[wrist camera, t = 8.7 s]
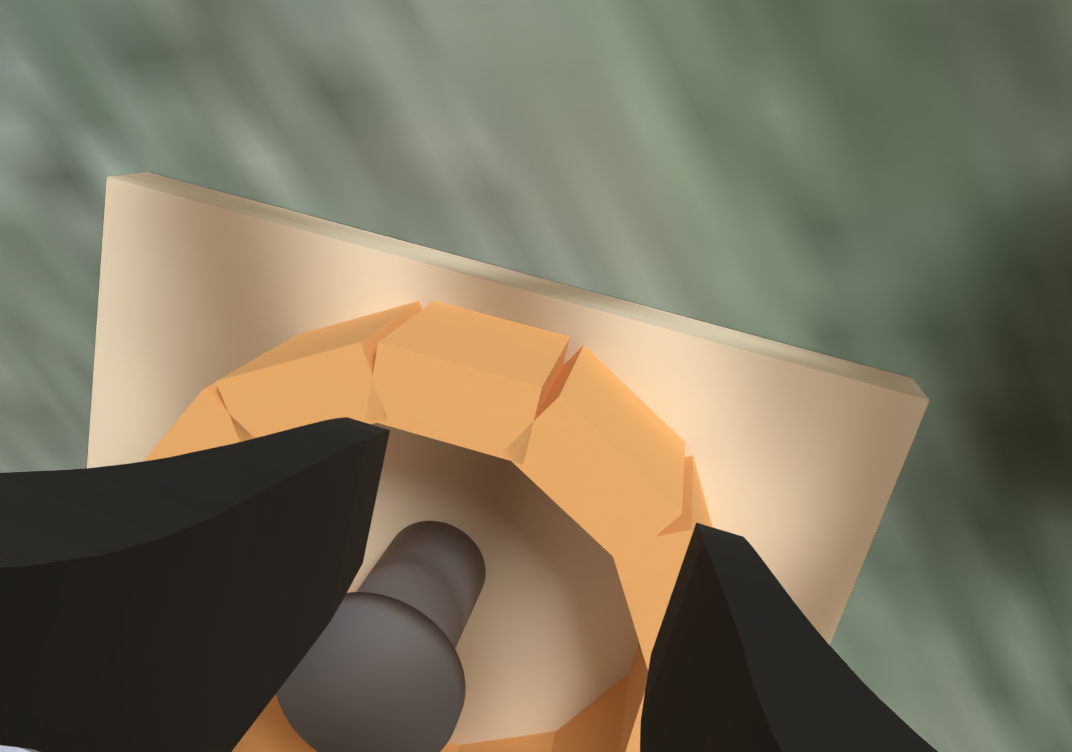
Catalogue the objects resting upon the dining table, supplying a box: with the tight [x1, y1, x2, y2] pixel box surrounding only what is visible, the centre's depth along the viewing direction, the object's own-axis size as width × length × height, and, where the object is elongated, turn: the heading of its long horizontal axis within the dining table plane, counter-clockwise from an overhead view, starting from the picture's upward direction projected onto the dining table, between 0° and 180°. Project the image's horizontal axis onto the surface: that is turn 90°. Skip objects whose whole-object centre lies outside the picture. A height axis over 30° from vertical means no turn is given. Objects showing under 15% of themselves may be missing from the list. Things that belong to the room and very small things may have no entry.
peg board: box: [87, 172, 929, 752], centre depth 19 cm, size 18×14×6 cm
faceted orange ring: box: [144, 301, 713, 752], centre depth 19 cm, size 12×12×4 cm
